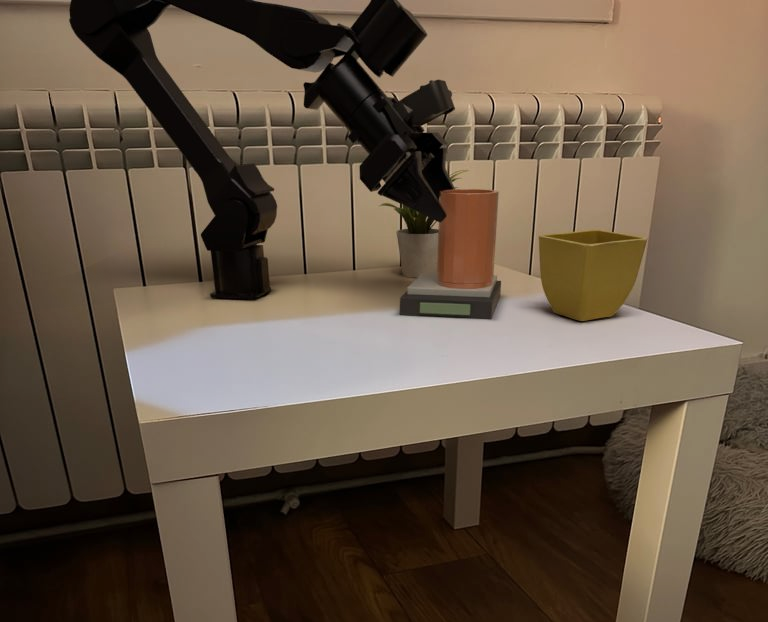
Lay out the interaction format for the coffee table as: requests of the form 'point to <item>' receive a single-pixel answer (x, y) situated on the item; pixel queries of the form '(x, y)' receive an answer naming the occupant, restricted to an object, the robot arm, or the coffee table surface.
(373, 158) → the robot arm
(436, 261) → the house plant
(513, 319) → the coffee table surface
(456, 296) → the scale
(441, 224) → the cup
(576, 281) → the flower pot
